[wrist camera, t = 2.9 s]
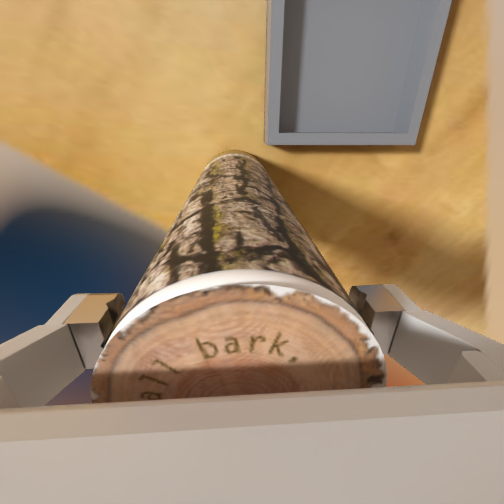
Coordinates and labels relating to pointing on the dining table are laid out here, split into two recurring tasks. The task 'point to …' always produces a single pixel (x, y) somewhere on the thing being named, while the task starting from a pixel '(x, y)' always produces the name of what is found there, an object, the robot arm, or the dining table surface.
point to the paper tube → (236, 304)
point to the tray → (349, 70)
